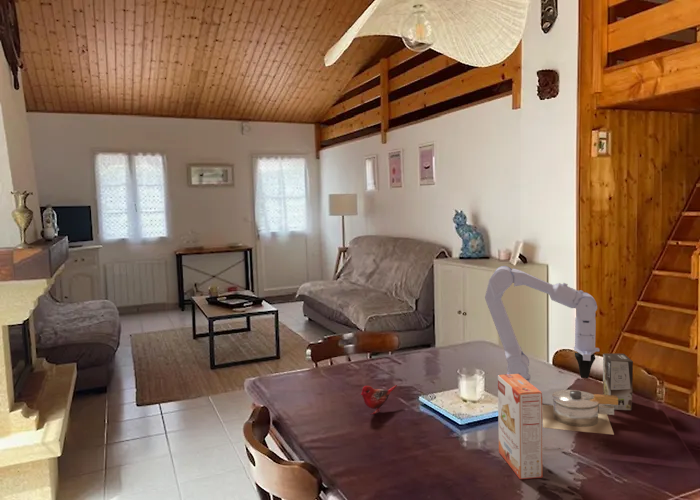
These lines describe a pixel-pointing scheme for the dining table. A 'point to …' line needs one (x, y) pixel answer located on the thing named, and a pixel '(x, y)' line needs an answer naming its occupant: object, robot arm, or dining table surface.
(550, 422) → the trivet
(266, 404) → the dining table surface
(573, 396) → the lid with handle
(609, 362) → the coffee box
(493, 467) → the dining table surface
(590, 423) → the pot
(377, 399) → the decorative bird figurine
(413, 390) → the dining table surface
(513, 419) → the cracker box
